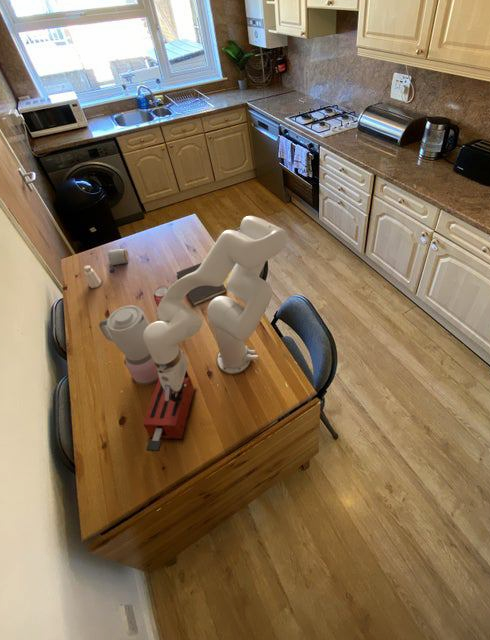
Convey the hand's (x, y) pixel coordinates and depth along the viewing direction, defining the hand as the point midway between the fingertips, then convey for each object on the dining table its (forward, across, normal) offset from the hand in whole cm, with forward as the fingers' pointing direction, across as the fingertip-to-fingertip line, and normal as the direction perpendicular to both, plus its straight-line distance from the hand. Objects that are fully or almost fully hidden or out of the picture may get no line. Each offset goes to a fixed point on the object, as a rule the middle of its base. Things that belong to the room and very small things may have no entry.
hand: (180, 387), depth 110 cm
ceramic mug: (+11, +73, +55) cm, 92 cm away
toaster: (+11, -3, +4) cm, 12 cm away
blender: (+11, +12, +19) cm, 25 cm away
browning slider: (+1, 0, 0) cm, 1 cm away
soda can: (+11, +41, +20) cm, 47 cm away
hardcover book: (+11, +57, +9) cm, 59 cm away
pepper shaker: (+11, +56, +60) cm, 83 cm away
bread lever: (+3, -14, +4) cm, 15 cm away
